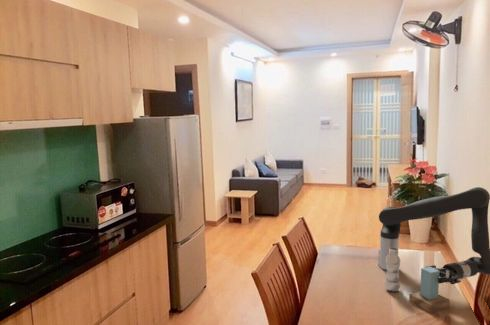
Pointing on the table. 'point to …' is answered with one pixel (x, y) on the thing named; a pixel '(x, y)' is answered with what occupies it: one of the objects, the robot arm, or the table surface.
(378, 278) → the table surface
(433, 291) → the blue block
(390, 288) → the plastic bottle
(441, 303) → the walnut block
